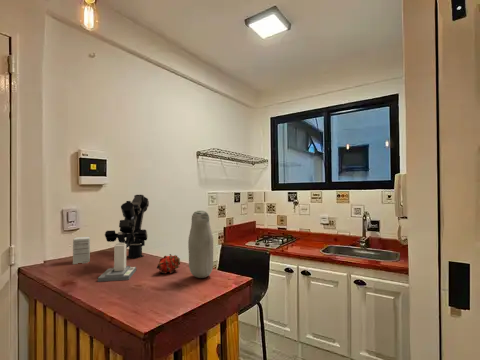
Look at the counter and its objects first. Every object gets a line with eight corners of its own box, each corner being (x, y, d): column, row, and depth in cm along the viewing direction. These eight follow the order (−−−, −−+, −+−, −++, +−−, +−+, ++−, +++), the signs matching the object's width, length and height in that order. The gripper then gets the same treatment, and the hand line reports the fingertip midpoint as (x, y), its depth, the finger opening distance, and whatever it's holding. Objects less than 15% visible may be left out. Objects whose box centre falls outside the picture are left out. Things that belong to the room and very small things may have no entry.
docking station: (108, 271, 124) (108, 266, 124) (136, 270, 126) (136, 265, 126) (97, 281, 110) (97, 275, 111) (128, 279, 112) (128, 274, 112)
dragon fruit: (182, 272, 126) (159, 283, 118) (173, 260, 131) (150, 268, 122) (186, 260, 123) (163, 270, 114) (176, 247, 127) (153, 255, 118)
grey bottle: (217, 275, 117) (217, 210, 118) (202, 282, 108) (202, 211, 109) (199, 272, 122) (199, 209, 123) (183, 278, 113) (183, 211, 114)
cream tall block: (116, 268, 123) (117, 242, 123) (126, 268, 124) (126, 242, 124) (114, 271, 119) (114, 244, 120) (123, 270, 120) (124, 243, 120)
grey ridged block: (74, 261, 144) (74, 237, 144) (90, 259, 147) (90, 236, 148) (72, 264, 137) (72, 239, 138) (88, 262, 140) (89, 238, 141)
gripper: (106, 213, 131) (97, 240, 120) (146, 213, 134) (141, 239, 123) (111, 228, 138) (103, 255, 127) (149, 227, 141) (145, 253, 130)
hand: (123, 250), depth 126 cm, fingers closed
